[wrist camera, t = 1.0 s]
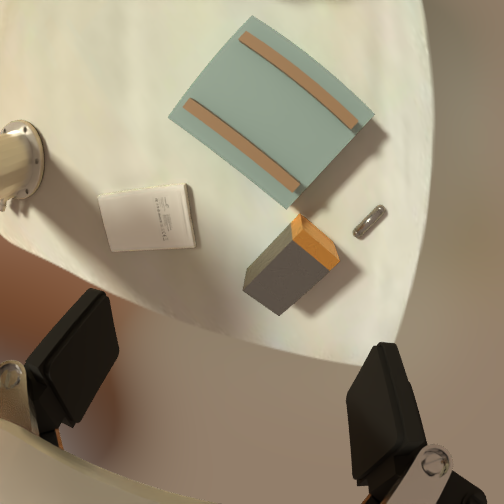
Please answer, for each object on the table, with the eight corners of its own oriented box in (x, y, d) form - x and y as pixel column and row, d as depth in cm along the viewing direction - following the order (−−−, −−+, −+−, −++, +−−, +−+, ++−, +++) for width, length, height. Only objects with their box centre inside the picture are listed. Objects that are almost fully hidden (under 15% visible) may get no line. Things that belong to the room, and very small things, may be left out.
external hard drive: (103, 193, 36) (187, 181, 35) (116, 247, 40) (197, 243, 38) (96, 196, 35) (183, 184, 33) (111, 253, 38) (194, 249, 37)
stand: (285, 201, 34) (286, 213, 31) (176, 116, 31) (163, 117, 27) (366, 113, 29) (378, 114, 25) (254, 23, 25) (251, 11, 21)
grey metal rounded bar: (356, 237, 36) (358, 241, 35) (349, 231, 35) (351, 235, 34) (385, 207, 34) (388, 211, 32) (379, 201, 33) (382, 204, 32)
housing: (279, 292, 40) (279, 316, 36) (246, 268, 39) (242, 290, 34) (333, 241, 36) (340, 261, 32) (299, 213, 35) (303, 229, 30)
